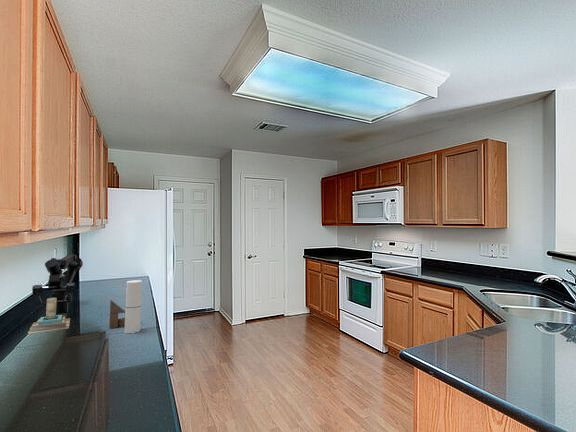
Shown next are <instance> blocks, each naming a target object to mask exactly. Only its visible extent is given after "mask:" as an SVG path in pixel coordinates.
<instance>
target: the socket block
mask: <svg viewBox="0 0 576 432" xmlns="http://www.w3.org/2000/svg"><path fill="white" fill-rule="evenodd" d="M39 319H40V320H39V322H38V325H44V324H52V323H60V322H62V319H63V315H62V314H56V319H52V320H46V316H41V317H40V318H39Z"/></svg>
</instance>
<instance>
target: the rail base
mask: <svg viewBox="0 0 576 432" xmlns="http://www.w3.org/2000/svg"><path fill="white" fill-rule="evenodd" d="M39 320H40V318H38V320H37V321H36V322H33V323H32V324H31V327H29V330H28V332H27V335H28V334H34V333H35V334H36V333H44V332H50V331H59V330H66V329H69V328H70V323H71V322H70V321H71V318H70V317H68V318H66V315H62V322H60V323H52V324H44V325H38V322H39Z"/></svg>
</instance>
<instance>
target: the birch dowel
mask: <svg viewBox="0 0 576 432" xmlns="http://www.w3.org/2000/svg"><path fill="white" fill-rule="evenodd" d="M56 300H57V298H52V297H49V298H46V306H45V309H46V311H45V317H46V320H52V319H56V316H57V314H56Z"/></svg>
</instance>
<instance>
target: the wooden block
mask: <svg viewBox="0 0 576 432" xmlns="http://www.w3.org/2000/svg"><path fill="white" fill-rule="evenodd" d="M109 305H110V306H109V322H108V323H109V329H115V328H119V327H125V317H122V318H119V314H125V309H123V308H122V307H121V306H120V305H118V303H116V302H115V301H113V300H112V299H110V303H109ZM124 306H125V307H126V303H125V305H124Z"/></svg>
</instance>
